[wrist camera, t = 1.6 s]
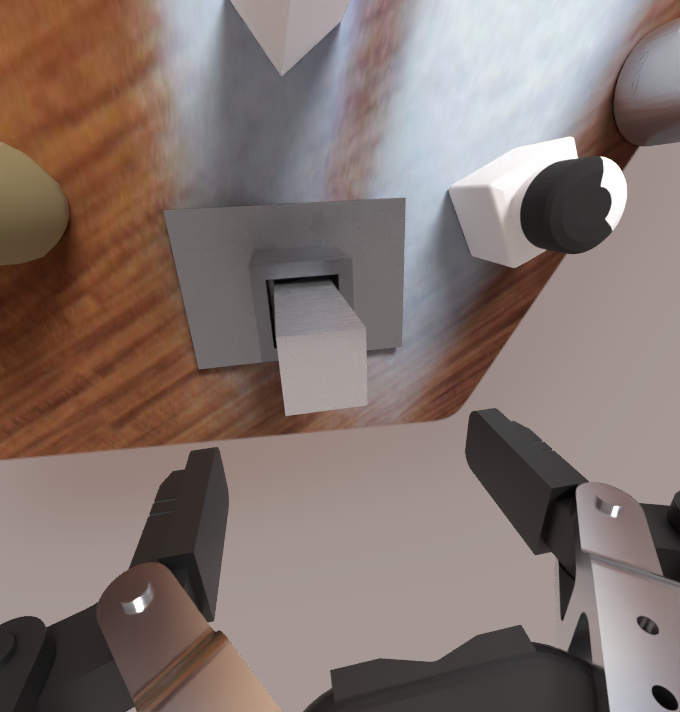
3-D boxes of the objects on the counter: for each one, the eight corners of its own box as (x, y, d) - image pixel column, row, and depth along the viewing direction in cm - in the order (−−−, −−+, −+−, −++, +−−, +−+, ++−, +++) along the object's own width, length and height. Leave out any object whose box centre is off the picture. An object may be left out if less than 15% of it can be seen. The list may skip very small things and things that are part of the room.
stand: (401, 197, 33) (453, 197, 23) (397, 342, 38) (439, 389, 29) (167, 209, 30) (120, 215, 21) (200, 364, 36) (176, 423, 26)
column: (318, 263, 33) (366, 328, 16) (321, 306, 34) (367, 405, 18) (272, 266, 32) (275, 337, 16) (277, 310, 34) (285, 415, 17)
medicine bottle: (470, 257, 36) (556, 282, 25) (445, 187, 33) (531, 182, 22) (534, 220, 36) (650, 229, 25) (515, 146, 33) (637, 120, 22)
